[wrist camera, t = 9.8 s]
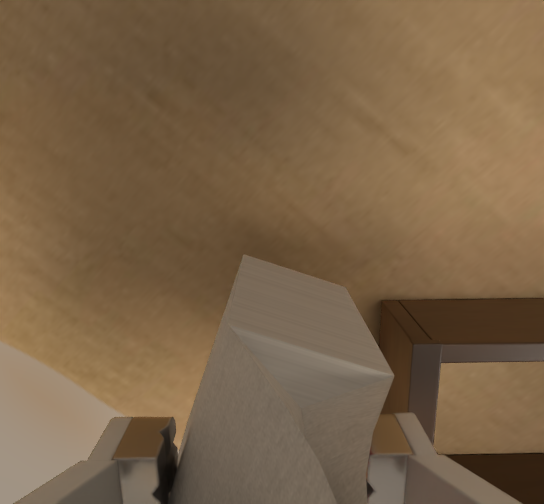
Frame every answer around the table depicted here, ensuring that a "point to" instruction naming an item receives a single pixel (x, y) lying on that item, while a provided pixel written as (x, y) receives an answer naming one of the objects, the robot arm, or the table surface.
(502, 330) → the crate
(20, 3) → the table surface
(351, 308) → the white food carton
